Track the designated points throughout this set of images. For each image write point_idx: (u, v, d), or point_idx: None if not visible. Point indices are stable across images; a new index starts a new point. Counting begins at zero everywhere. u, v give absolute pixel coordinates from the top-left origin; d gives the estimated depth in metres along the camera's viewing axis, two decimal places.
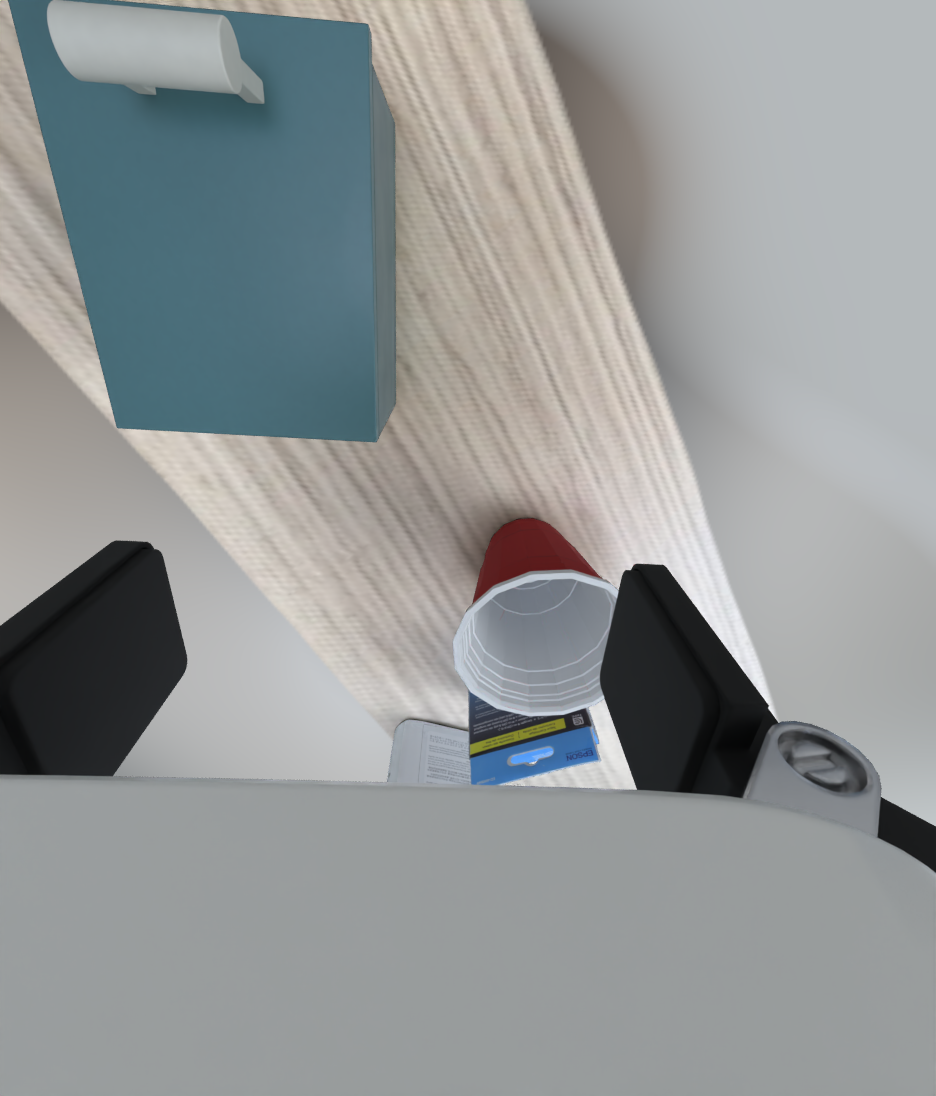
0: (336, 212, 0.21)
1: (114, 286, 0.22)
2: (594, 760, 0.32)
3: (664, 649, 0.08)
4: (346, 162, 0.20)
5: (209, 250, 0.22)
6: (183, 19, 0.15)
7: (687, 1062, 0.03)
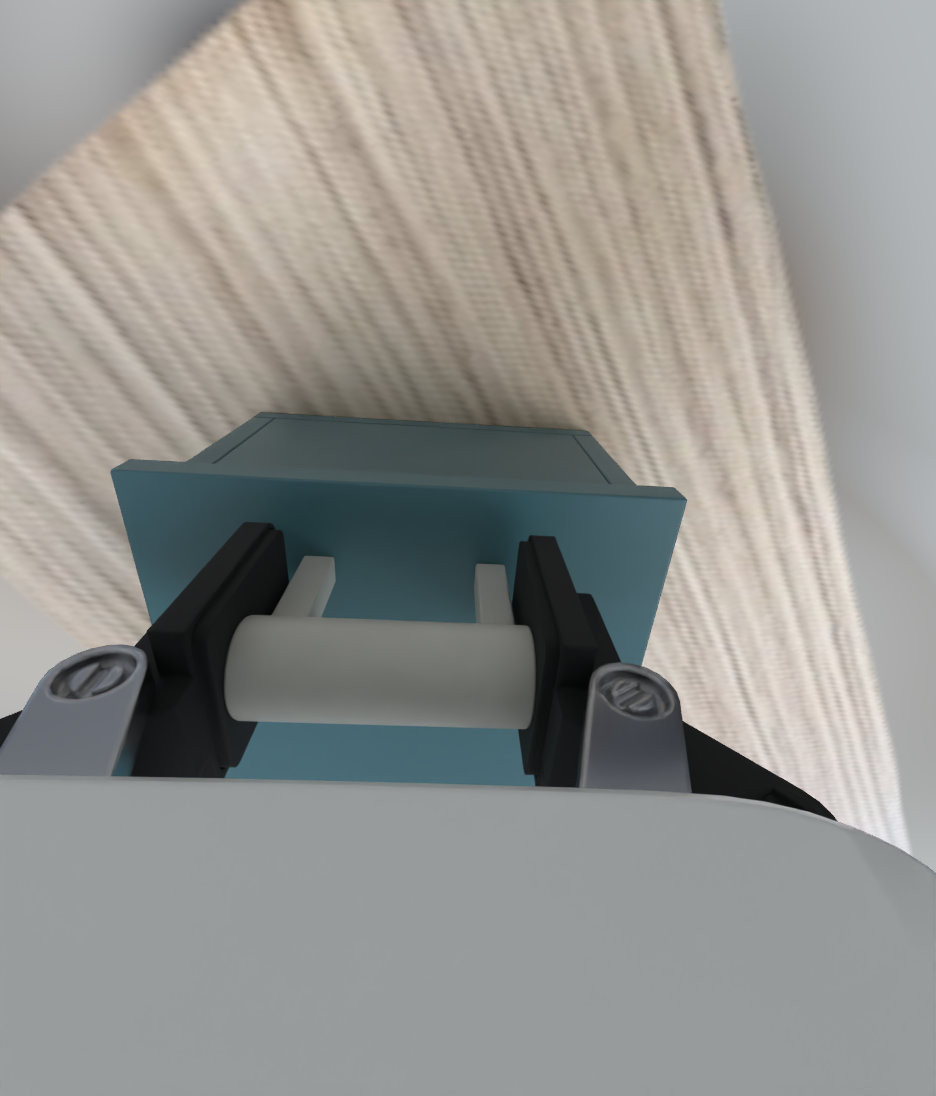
0: None
1: (239, 768, 0.15)
2: None
3: (533, 606, 0.09)
4: None
5: (385, 732, 0.15)
6: (472, 679, 0.08)
7: (687, 1062, 0.03)
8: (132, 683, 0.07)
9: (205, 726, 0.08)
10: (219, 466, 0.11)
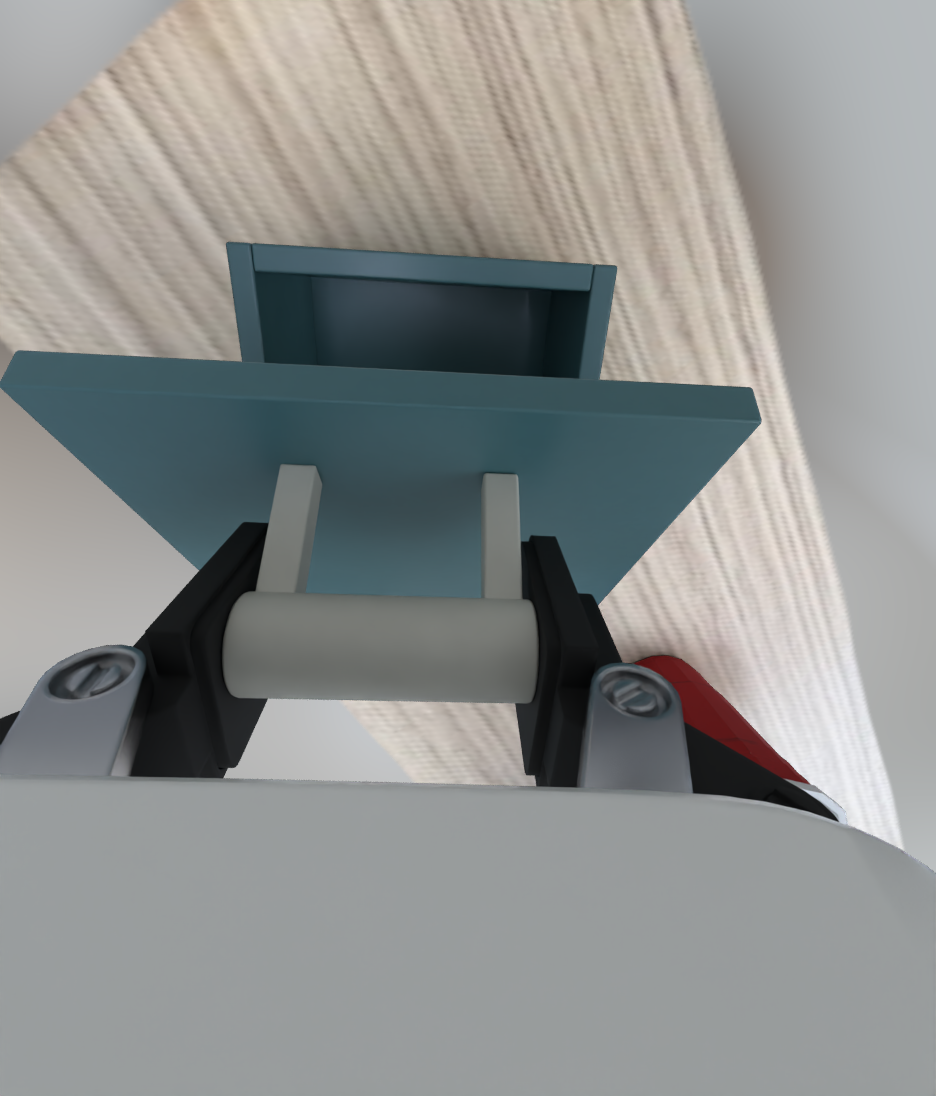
0: (587, 557, 0.14)
1: None
2: None
3: (534, 607, 0.09)
4: (626, 530, 0.12)
5: (393, 574, 0.15)
6: (472, 685, 0.08)
7: (687, 1063, 0.03)
8: (130, 683, 0.07)
9: (203, 725, 0.08)
10: (140, 366, 0.08)
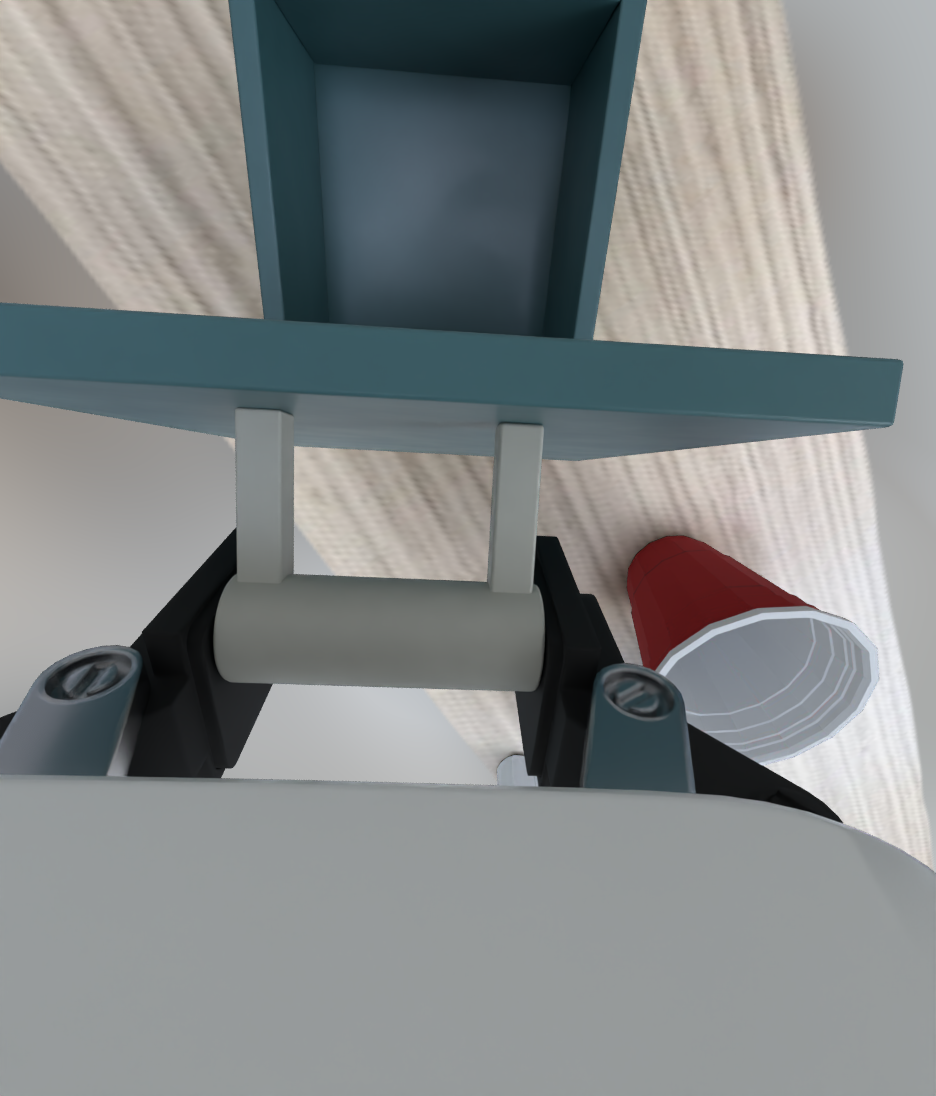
0: (618, 446, 0.12)
1: None
2: None
3: None
4: (670, 443, 0.10)
5: (394, 439, 0.13)
6: (472, 688, 0.08)
7: (688, 1063, 0.03)
8: (127, 684, 0.07)
9: (200, 727, 0.08)
10: None
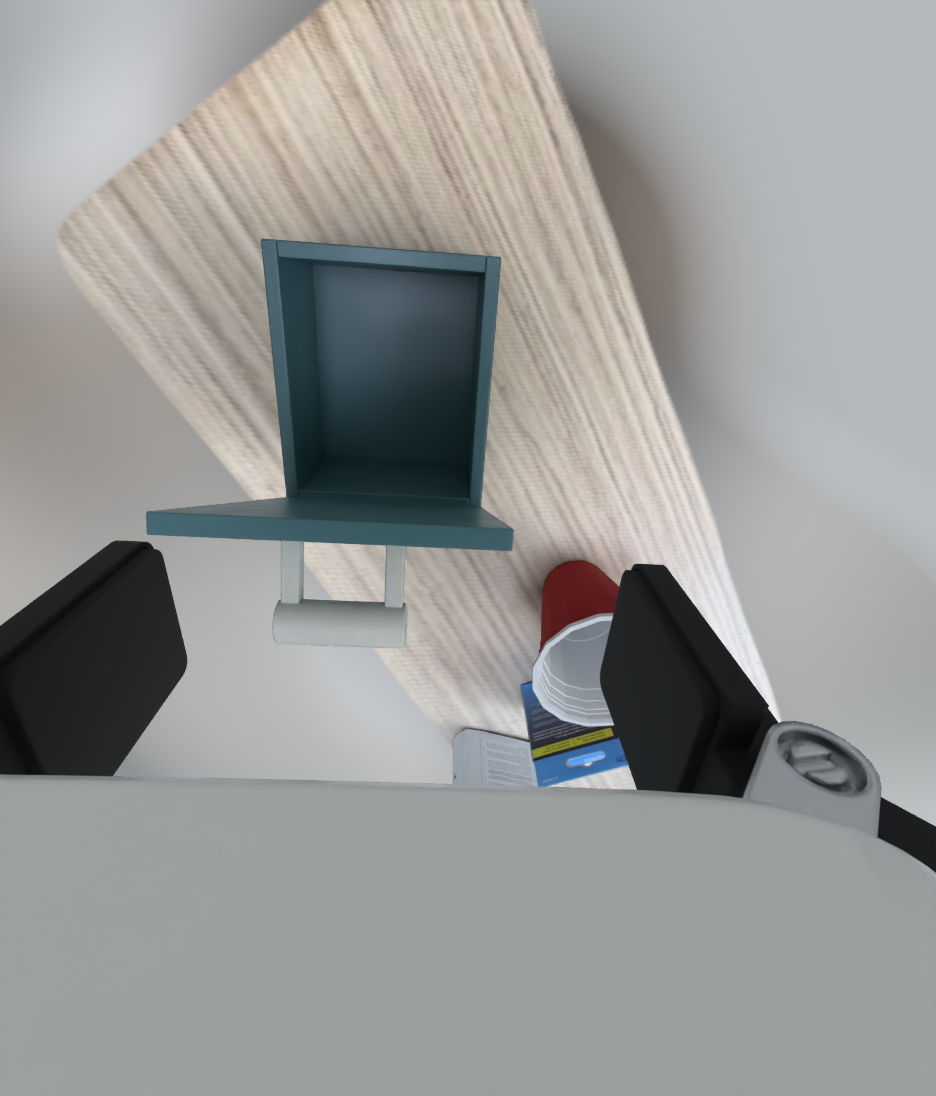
0: None
1: None
2: None
3: (664, 649, 0.08)
4: None
5: None
6: (377, 646, 0.20)
7: (687, 1063, 0.03)
8: None
9: None
10: (208, 521, 0.17)
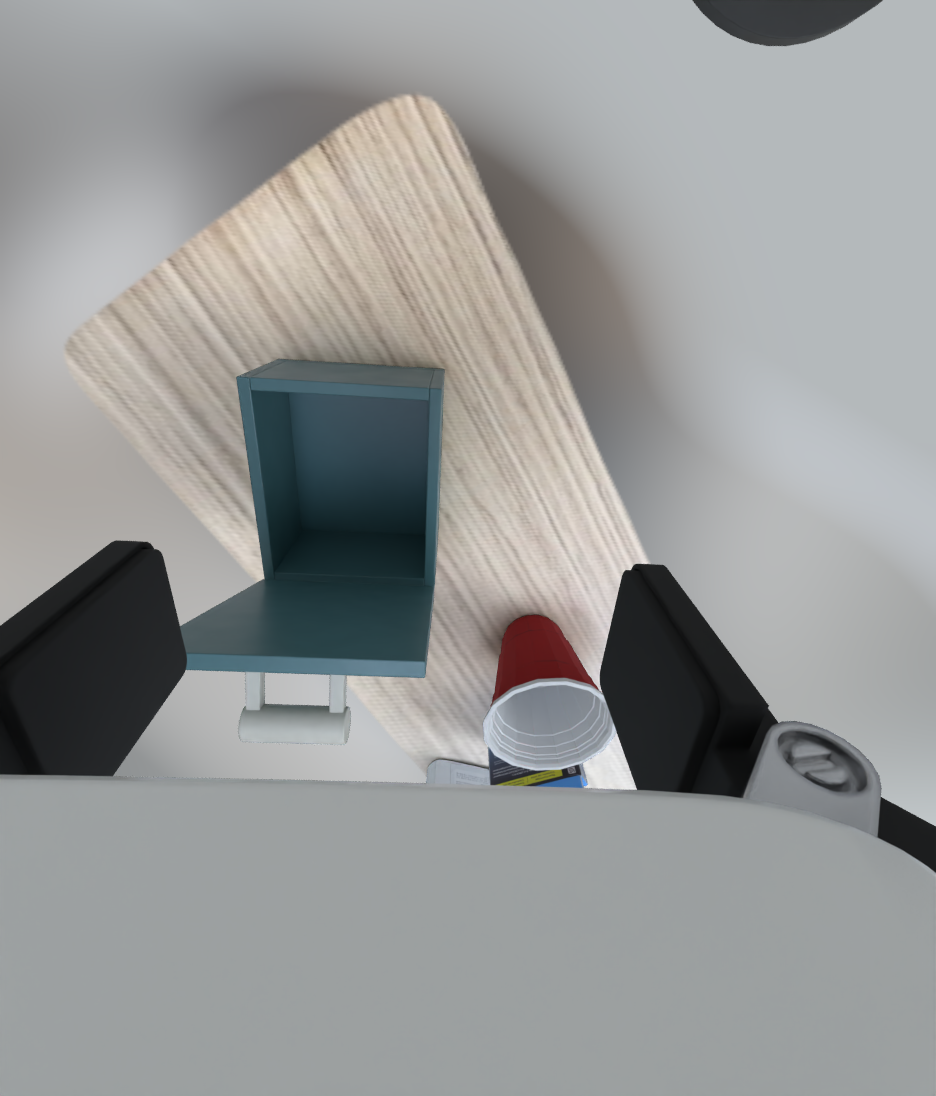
0: None
1: None
2: None
3: (664, 649, 0.08)
4: None
5: None
6: None
7: (687, 1063, 0.03)
8: None
9: None
10: None
